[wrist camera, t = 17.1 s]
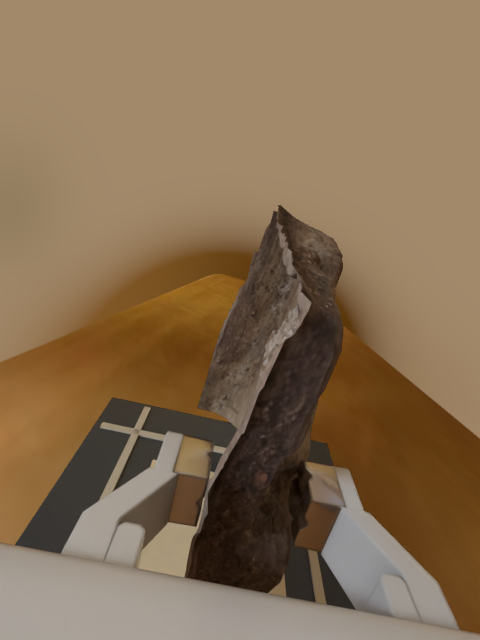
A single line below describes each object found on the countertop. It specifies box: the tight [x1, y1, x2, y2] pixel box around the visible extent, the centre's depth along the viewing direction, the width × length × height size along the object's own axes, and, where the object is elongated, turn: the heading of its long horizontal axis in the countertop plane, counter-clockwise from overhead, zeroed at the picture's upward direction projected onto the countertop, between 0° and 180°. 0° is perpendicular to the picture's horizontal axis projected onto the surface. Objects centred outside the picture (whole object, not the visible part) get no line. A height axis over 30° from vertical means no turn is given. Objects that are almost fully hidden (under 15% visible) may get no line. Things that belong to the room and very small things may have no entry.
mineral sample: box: [184, 205, 343, 593], centre depth 16 cm, size 17×4×15 cm, turn 177°
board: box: [15, 398, 356, 610], centre depth 20 cm, size 18×20×2 cm
